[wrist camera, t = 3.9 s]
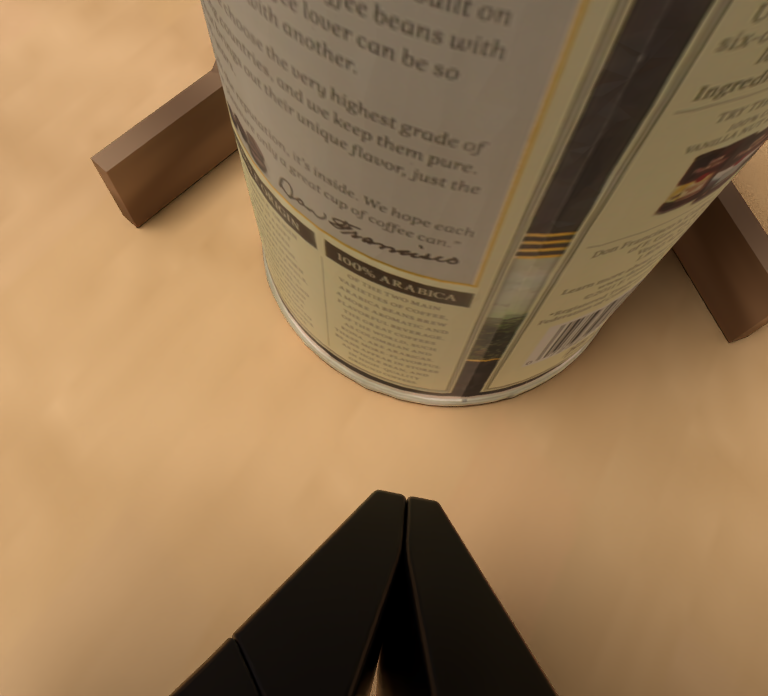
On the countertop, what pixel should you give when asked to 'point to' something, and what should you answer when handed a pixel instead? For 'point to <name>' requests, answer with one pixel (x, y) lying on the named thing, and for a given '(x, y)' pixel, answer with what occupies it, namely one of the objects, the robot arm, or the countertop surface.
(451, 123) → the coffee can
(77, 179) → the countertop surface
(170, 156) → the walnut keeper
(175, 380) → the countertop surface
